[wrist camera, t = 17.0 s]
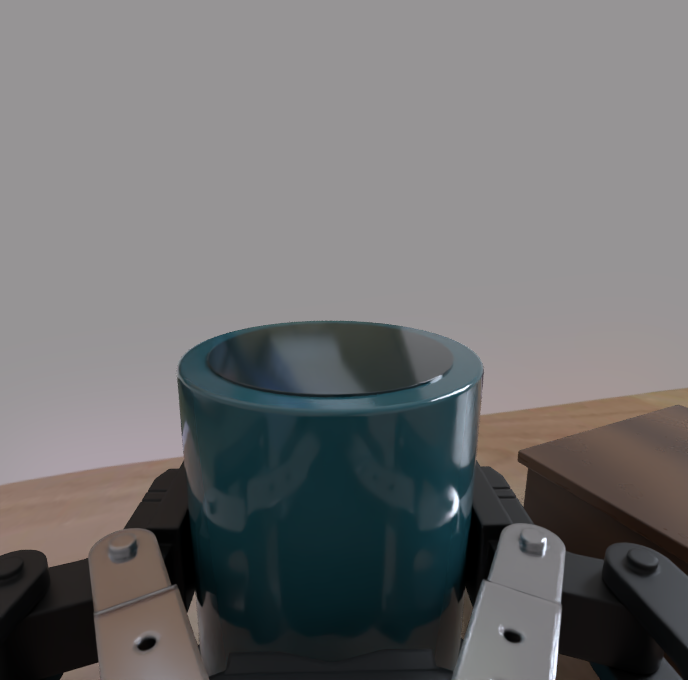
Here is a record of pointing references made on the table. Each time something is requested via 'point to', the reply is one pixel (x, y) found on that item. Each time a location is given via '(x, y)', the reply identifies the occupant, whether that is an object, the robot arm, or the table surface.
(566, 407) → the table surface
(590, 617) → the robot arm
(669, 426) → the riser
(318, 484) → the tumbler
